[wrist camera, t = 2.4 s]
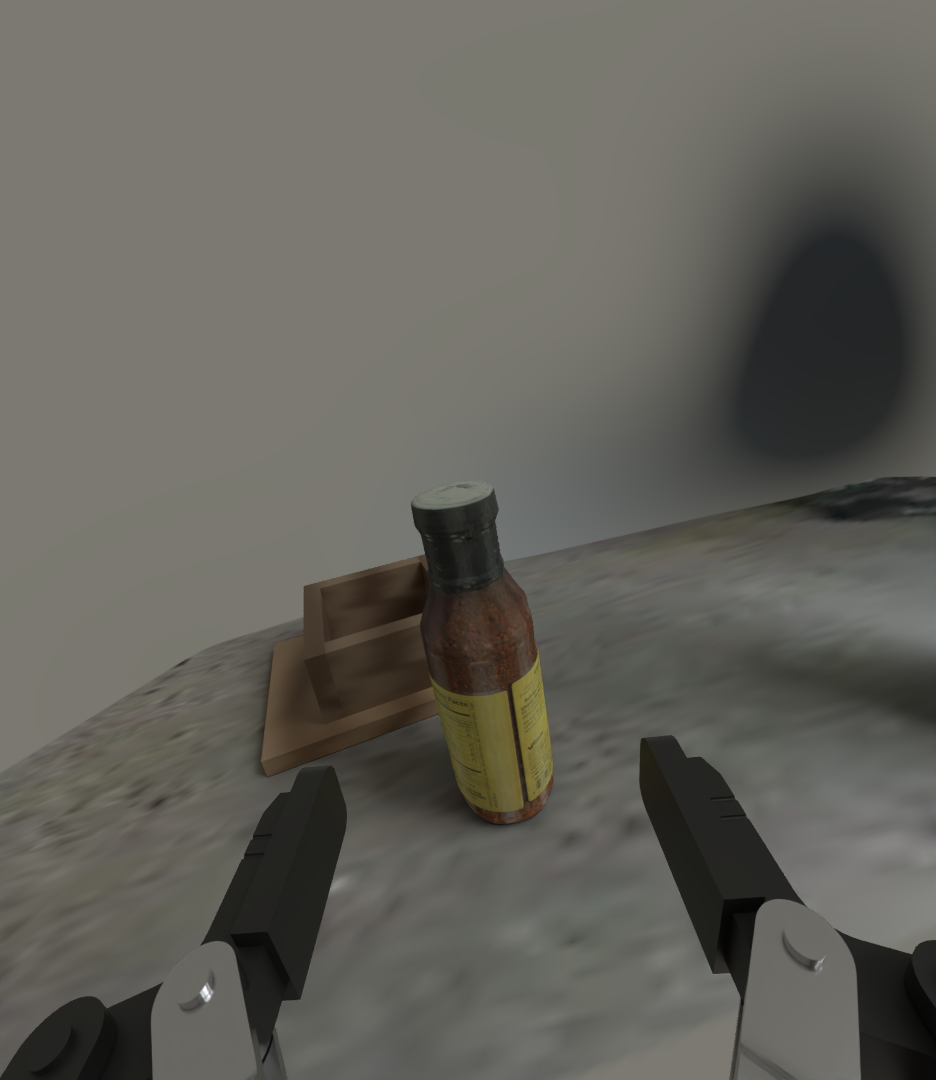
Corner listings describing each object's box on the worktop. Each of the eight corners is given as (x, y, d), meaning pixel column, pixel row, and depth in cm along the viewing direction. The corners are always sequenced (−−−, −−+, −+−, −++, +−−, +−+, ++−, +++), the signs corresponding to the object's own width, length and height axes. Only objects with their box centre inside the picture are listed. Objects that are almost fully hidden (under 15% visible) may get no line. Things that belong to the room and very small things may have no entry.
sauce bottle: (526, 732, 31) (497, 465, 24) (574, 806, 26) (555, 487, 19) (442, 767, 30) (382, 489, 22) (473, 853, 24) (408, 523, 17)
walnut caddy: (473, 596, 51) (465, 538, 48) (539, 676, 37) (532, 600, 34) (278, 655, 45) (256, 592, 42) (267, 777, 31) (232, 694, 28)
